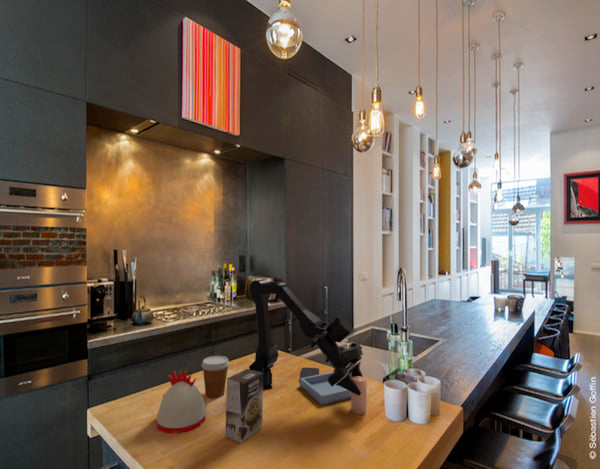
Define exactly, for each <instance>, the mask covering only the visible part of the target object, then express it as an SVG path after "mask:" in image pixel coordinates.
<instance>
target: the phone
mask: <svg viewBox="0 0 600 469" xmlns="http://www.w3.org/2000/svg"><path fill="white" fill-rule="evenodd" d="M319 374H320V368H318V367H304V366H303V367H302V368H301V371H300V377H299V380H298V381H299V384H300V378H304V377H309V376H314V375H319Z"/></svg>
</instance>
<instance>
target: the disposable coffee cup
mask: <svg viewBox="0 0 600 469" xmlns="http://www.w3.org/2000/svg"><path fill="white" fill-rule="evenodd" d="M229 366H230V361H229V358H228V357H227V356H223V355H212V356H211V355H210V356H208V357H206V358H204V359H203V360H202V363H201V367H202V372H203V373H202V374H203V382H204V390H205V396H206V398H209V399H218V398H221V397H222V396H224V395H225V389H226V385H227V376H228V369H229V368H228V367H229Z"/></svg>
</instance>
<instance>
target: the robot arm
mask: <svg viewBox="0 0 600 469" xmlns="http://www.w3.org/2000/svg"><path fill="white" fill-rule="evenodd" d="M248 291H249V294H250V298H251V300H252V301H253V304H254V305H255V307H254V308H255V316H256V318H255V319H256V329H257V347H256V350H255V356H254V361H253V362H252V363H251V364H250V365H249V366H248V369H250V370H254V371H258V372H262V373H263V391H264V390H267V389H268V390H269V389H273V385H272V384H273V373H272V369H271V368H273V366H274V365H275V364H276V362H277V361H278V359H279V358H278V357H279V356H280V355H279V352H278V351H279V346H278V344H277V345H276V344H274V343H273V341H272V331H271V330H272V329H271V320H270V309H269V301H270V298H271V296H272V295H273V294H274V295H276V296H277V297H278V298H279V299H280V300H281V302H282V303H283V304H284V306H286V307H287V309H288V310H289V312H290V313H291V314H292V315H293V316H294V317H295V318H296V320H297V323H298V326H299V329H300V330H301V332H302V333H303V336H305V337H306V338H309V339H311V340H310V341H311V345H310V349H314V348H315V347H317V348H318V349H319V351H320V352H321V353H322V355H323V356H324V357H325V358H326V359H325V362H326V363H330V365H331V366H332V367H333V369H334V370H333V371H332V372H334V373H332V374H331V375H330V376H329V377H328V383H329V384H330V385H331V387H332V386H333V385H335V384H336V383H337V382H338V383H337V384H336V385H337V386H341V387H343V388H345V389H347V390H349V391H351V392H353V393H354V394H356V395H358V396H359V395H361V392H360V390H359V389H358V387H357V385H356V384H355V382H354V381H353V379H352V377H354V376H361V377H364V375H363V374H362V371H361V363H362V362H361V361H360V360H362V358H363V357H362V356H363V355H364V353H363V346H362V345H361V344H359V343H358V342H357V341H354V342H351V343H350V347H347V348H345V347H344V346H339V345H338V343H342V342H343V341H344V340H345V339H346V338H348V337H349V335H351V334H352V333H353V331H354V329H353V327H352V325H351V324H350V323H349V322H348V321H347V320H346V319H344V318H342V317H341V316H340V315H339V316H337V317H336V318H334V319H333V321H332V322H331V323H328V322H324V321H323V320H322V319H321V318H320V317H318V316H317V315H316V314H314V313H313V312H311V311H309V310H308V309H307V308H306V307H305V306H304V305H303V304H302V302H301V301H300V300H299V299H298V298H297V296H296V295H295V294H294V292H292V291H291V290H290V288H289V287H288V285H287V283H285V282H277V281H269V280H268V279H266V278H261V279H255V280H252V281H251V282H250V283H249V285H248ZM324 333H325V334H324ZM317 336H318V337H317ZM315 337H317V338H315ZM312 338H313V339H312Z"/></svg>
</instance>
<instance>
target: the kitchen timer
mask: <svg viewBox="0 0 600 469" xmlns="http://www.w3.org/2000/svg"><path fill="white" fill-rule="evenodd" d="M167 378H168V380H169V382H170V384H171V386H170V387H169V388H168V389H167V391H165V394H163V395H162V399H161V401H160V402H161V403H160V405H159V408H158V411H157V416H156V428H157V430H158V431H160V432H161V433H164V434H168V435H169V434H170V435H177V434H178V435H180V434H185V433H189V432H191V431H194V430H196V429H197V428H199V427H201V426H202V425H203V424H204V423H205V421H206V415H207V414H206V413H207V412H206V406H205V401H204V398H203V395H202V393H201V391H200V390H199V389H198V387H197V386H196V385H195V383H196V380H197V378H194V379H193V380H192V381H191V378H192V374H191V373H190V374H189V375H187V370H186V369H185V370H184V371H183V375H182V370H181V369H180V370H179V371H178V376H177V372H176V370H173V372H172V375H171V374H168V376H167Z"/></svg>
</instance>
